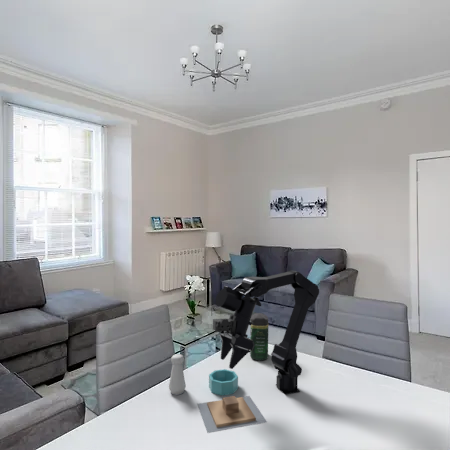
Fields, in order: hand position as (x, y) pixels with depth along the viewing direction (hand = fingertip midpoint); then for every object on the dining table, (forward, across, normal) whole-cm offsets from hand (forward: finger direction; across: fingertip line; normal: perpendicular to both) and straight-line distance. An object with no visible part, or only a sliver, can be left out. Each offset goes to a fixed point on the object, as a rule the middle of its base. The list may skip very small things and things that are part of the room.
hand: (226, 363), depth 102 cm
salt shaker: (+17, -16, -7) cm, 25 cm away
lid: (+13, +1, +6) cm, 14 cm away
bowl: (+11, -14, +8) cm, 20 cm away
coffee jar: (0, -37, +28) cm, 47 cm away
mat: (+14, +1, +6) cm, 15 cm away
